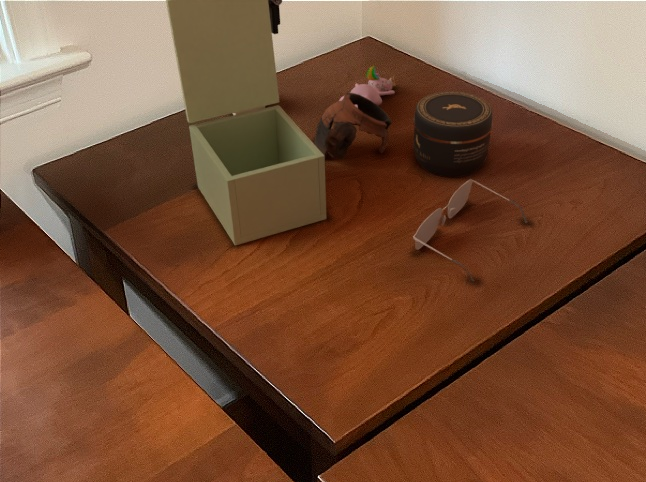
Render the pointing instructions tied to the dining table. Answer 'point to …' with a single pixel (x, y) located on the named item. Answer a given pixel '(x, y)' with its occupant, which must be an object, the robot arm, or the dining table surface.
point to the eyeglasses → (454, 206)
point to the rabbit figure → (374, 87)
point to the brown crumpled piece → (350, 125)
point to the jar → (452, 133)
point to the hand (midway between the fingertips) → (239, 37)
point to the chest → (259, 173)
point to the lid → (223, 55)
